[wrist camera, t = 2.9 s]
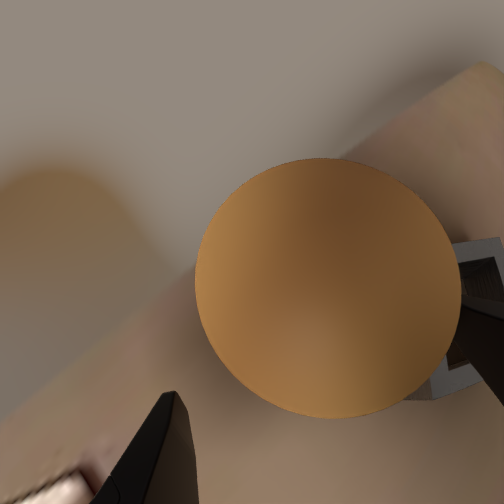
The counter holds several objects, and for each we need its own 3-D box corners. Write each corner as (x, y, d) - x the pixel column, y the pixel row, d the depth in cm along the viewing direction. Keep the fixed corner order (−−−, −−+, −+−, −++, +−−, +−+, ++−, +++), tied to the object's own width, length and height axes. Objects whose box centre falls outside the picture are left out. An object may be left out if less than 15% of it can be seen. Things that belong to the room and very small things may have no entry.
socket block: (469, 261, 19) (499, 237, 15) (494, 365, 15) (530, 356, 12) (379, 276, 19) (401, 250, 15) (401, 399, 15) (432, 400, 12)
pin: (347, 327, 18) (470, 211, 6) (314, 408, 16) (418, 450, 4) (267, 295, 19) (264, 132, 7) (230, 374, 17) (145, 342, 5)
